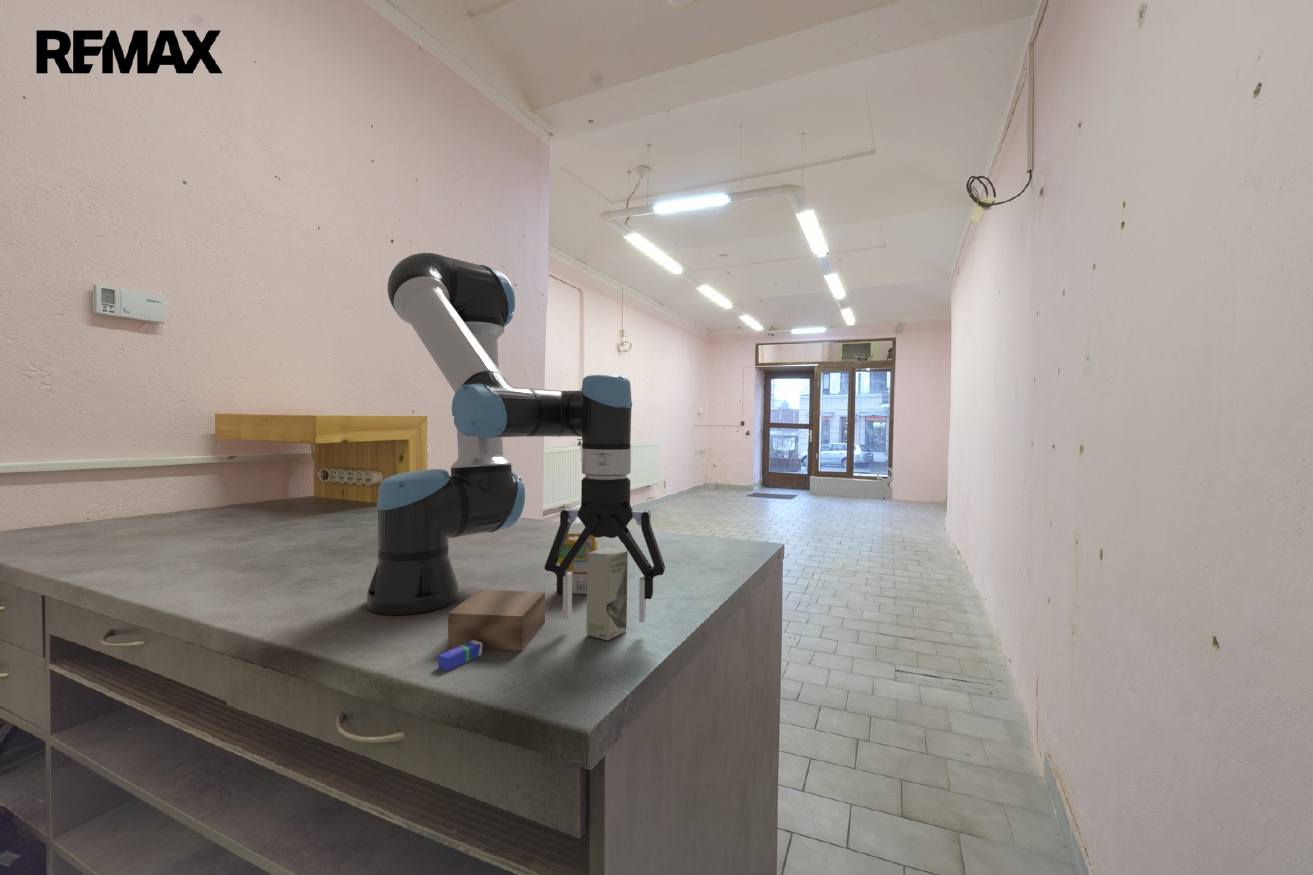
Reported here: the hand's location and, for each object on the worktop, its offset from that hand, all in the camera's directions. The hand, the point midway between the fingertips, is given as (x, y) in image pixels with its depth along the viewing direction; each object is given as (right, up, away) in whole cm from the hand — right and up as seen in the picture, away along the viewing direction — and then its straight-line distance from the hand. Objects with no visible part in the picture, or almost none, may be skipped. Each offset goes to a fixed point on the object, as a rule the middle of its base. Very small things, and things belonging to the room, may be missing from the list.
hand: (604, 617), depth 83 cm
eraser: (-19, -3, -10) cm, 21 cm away
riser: (-16, -2, -1) cm, 16 cm away
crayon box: (-7, -2, +21) cm, 22 cm away
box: (0, -3, 0) cm, 3 cm away
